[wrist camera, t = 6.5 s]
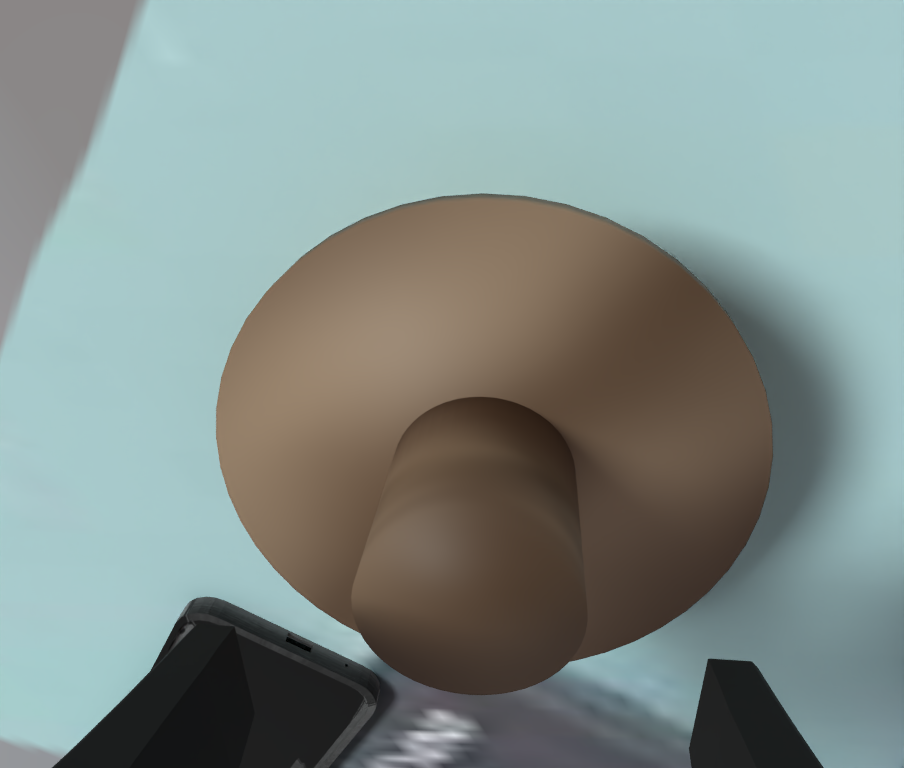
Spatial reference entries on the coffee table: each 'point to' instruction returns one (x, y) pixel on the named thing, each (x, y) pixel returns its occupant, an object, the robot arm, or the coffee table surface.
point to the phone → (289, 689)
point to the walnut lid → (494, 436)
